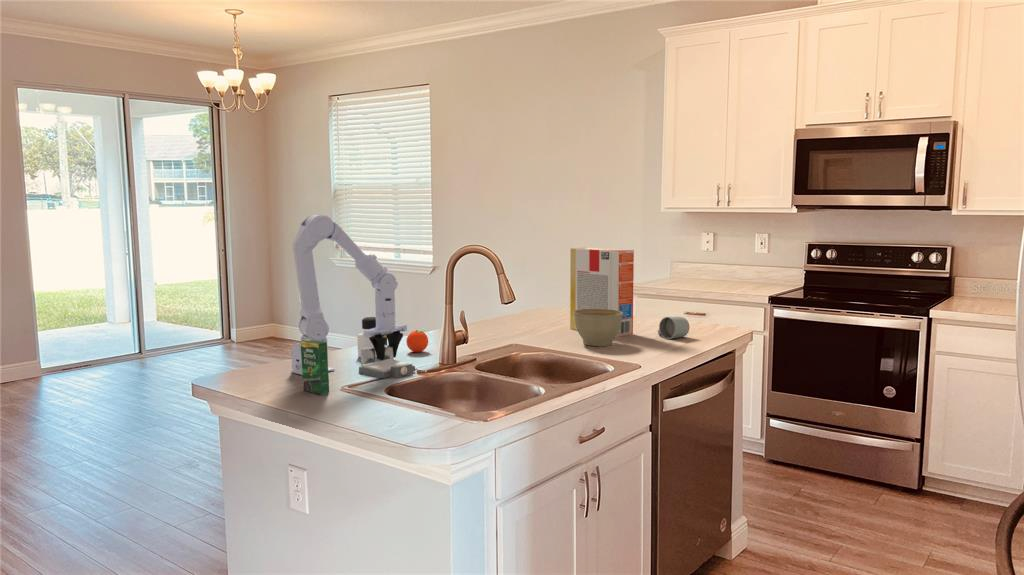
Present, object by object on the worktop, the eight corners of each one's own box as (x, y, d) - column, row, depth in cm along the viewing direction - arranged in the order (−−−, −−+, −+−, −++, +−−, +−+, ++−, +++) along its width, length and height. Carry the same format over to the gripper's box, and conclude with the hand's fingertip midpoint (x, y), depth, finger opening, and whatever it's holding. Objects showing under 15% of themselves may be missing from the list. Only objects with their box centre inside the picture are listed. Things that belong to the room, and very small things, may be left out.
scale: (388, 379, 200) (388, 369, 199) (359, 372, 208) (358, 362, 208) (419, 372, 208) (419, 362, 208) (390, 365, 217) (389, 356, 216)
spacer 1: (367, 368, 214) (366, 351, 214) (358, 366, 217) (358, 349, 216) (378, 365, 217) (377, 348, 216) (369, 363, 220) (369, 347, 219)
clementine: (429, 349, 241) (429, 327, 240) (433, 353, 234) (433, 330, 234) (404, 350, 239) (404, 328, 238) (408, 354, 232) (408, 332, 231)
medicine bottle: (379, 358, 227) (378, 319, 226) (357, 357, 229) (356, 318, 227) (387, 353, 234) (386, 315, 233) (366, 352, 236) (365, 315, 234)
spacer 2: (385, 365, 218) (385, 348, 217) (377, 363, 221) (376, 346, 220) (396, 362, 221) (396, 346, 220) (387, 360, 223) (387, 344, 223)
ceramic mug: (691, 337, 257) (691, 315, 256) (674, 340, 252) (675, 318, 251) (667, 334, 265) (668, 312, 265) (651, 336, 261) (651, 315, 260)
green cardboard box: (301, 390, 189) (299, 339, 188) (311, 388, 191) (309, 338, 190) (320, 395, 184) (318, 343, 182) (330, 393, 186) (328, 341, 185)
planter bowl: (611, 350, 236) (611, 316, 235) (565, 346, 244) (565, 313, 243) (629, 342, 250) (630, 310, 249) (585, 338, 258) (586, 307, 257)
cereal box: (632, 334, 265) (633, 250, 261) (618, 337, 260) (618, 251, 256) (585, 326, 282) (585, 247, 278) (570, 329, 277) (570, 248, 273)
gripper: (374, 317, 211) (375, 364, 212) (413, 311, 222) (414, 356, 223) (358, 314, 216) (360, 360, 217) (398, 309, 226) (399, 353, 228)
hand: (386, 358), depth 221 cm, fingers closed on spacer 2, 4 cm apart
